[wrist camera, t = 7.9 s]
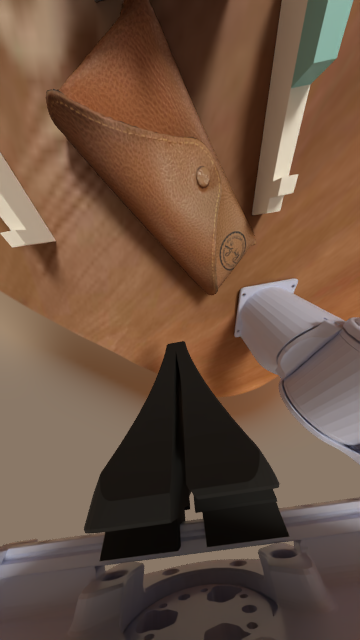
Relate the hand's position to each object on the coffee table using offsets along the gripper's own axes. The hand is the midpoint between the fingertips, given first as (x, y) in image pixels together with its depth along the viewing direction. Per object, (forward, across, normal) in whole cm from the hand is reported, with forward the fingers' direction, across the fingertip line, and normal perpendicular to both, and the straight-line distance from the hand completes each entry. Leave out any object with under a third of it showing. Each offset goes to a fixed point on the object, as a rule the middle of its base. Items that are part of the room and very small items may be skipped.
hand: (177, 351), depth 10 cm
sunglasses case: (+11, -3, -10) cm, 15 cm away
